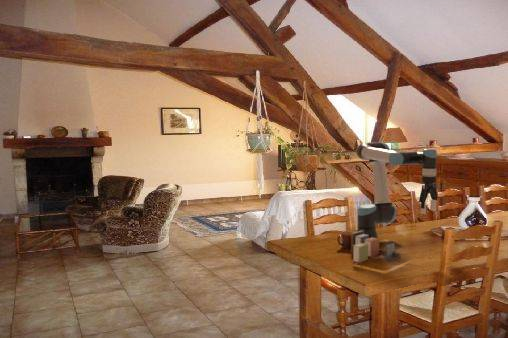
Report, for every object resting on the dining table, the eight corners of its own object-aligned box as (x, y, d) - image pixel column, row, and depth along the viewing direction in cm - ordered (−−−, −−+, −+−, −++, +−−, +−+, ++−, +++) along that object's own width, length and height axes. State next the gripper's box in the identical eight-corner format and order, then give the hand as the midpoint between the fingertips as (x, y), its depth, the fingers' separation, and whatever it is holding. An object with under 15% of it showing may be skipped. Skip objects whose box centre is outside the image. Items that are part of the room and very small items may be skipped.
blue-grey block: (354, 253, 265) (355, 236, 264) (362, 250, 270) (362, 233, 270) (360, 254, 262) (361, 237, 261) (368, 251, 267) (368, 235, 267)
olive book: (353, 263, 250) (353, 245, 249) (361, 260, 255) (361, 243, 255) (359, 265, 247) (359, 246, 246) (367, 262, 253) (367, 244, 252)
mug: (348, 247, 284) (348, 231, 283) (358, 250, 276) (358, 233, 275) (333, 249, 279) (333, 233, 278) (342, 253, 271) (342, 236, 270)
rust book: (364, 255, 260) (364, 239, 260) (372, 252, 266) (372, 237, 265) (371, 256, 257) (371, 241, 256) (378, 254, 263) (379, 238, 262)
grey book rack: (350, 255, 266) (351, 233, 265) (361, 251, 273) (361, 230, 272) (390, 264, 248) (390, 240, 247) (400, 260, 255) (400, 237, 254)
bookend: (385, 259, 251) (385, 245, 250) (392, 256, 256) (393, 242, 256) (391, 261, 248) (391, 246, 248) (398, 258, 254) (398, 243, 253)
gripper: (426, 178, 252) (425, 216, 254) (444, 174, 270) (443, 210, 272) (413, 177, 257) (412, 214, 259) (431, 173, 275) (430, 208, 277)
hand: (428, 212), depth 266 cm, fingers open, 13 cm apart
